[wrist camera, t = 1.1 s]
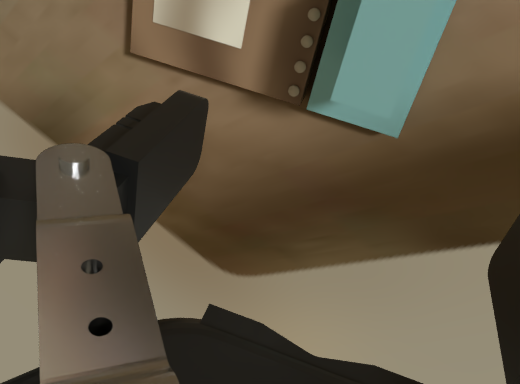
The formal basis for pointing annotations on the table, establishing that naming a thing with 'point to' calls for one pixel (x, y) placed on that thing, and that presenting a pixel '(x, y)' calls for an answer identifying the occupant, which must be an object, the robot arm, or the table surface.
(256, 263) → the table surface
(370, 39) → the stub
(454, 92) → the table surface
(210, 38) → the board
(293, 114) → the table surface
